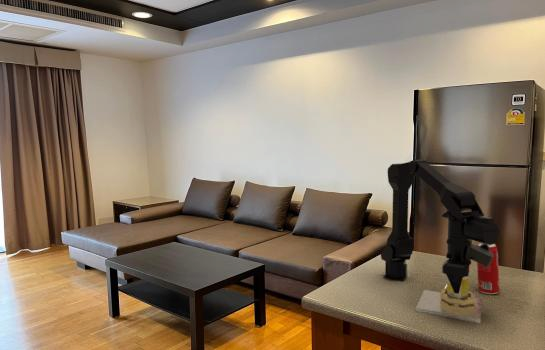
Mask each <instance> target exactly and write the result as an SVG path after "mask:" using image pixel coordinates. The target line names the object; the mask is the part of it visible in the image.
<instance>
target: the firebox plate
mask: <svg viewBox="0 0 545 350" xmlns="http://www.w3.org/2000/svg"><path fill="white" fill-rule="evenodd" d="M482 309H483V299H482V298H476V294H475V293H474V292H472V291H470V290H468V298H466V299H458V298H452V297H450V296H448V295H447V288H446V289H444V288H442V289H441V291H435V290H434V291H433V290H429V289H428V290H427V289H424V290H423V292H422V294H421V296H420V298H419V300H418V302H417V305H416V306H415V311H416V312H420V313H425V314H430V315H436V316H440V317H446V318H450V319H456V320H461V321H466V322H470V323H478V324H481V322H482V311H483V310H482Z"/></svg>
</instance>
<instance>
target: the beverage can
mask: <svg viewBox="0 0 545 350" xmlns="http://www.w3.org/2000/svg"><path fill="white" fill-rule="evenodd" d="M481 244H483V243H481V242H479V243H477V245H478V246H480V245H481ZM487 245H488V244H487ZM489 251H492V253H493V254H494V257H493V259H492V261H491V263H490V265H489V267H486V266H483V264H481V263H478V262H476V264H477V265H476V266H477V283H478V285H477V287H478V290H479V292H480V293H482V294H484V295H485V294H486V295H497V294H499V292H500V275H499V270H500V269H499V253H498V252H499V250H498V247H497V244H496V243H494V244H492V245H489Z"/></svg>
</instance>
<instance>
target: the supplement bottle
mask: <svg viewBox="0 0 545 350" xmlns="http://www.w3.org/2000/svg"><path fill="white" fill-rule="evenodd" d="M446 277H447V276H446ZM446 285H447V295H448V296H450V297H452V298H458V299H466V298H468V291H469V275H468V276H467V277H463V278H462V282H461V286H460V291H459V294H457V293H454V291H453V289H452V286H451V284H450V282H449V280H448V277H447V278H446Z"/></svg>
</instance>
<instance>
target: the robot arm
mask: <svg viewBox="0 0 545 350" xmlns="http://www.w3.org/2000/svg"><path fill="white" fill-rule="evenodd" d="M415 177H418V178H419V179H420V180H421V181H422V182H424V184H426V185H427V186H428V187H430V188H431V189H432V190H433V191H434V192H435V193H436V194H437V195H438V197H439V201H440V203H441V204H442V205H443V207H444V208H445V210H446V211H444V212H443V213H442V215H441V217H443V218H445V219H447V239H446V244H447V246H446V247H447V249H446V250H447V252H446V255H445V257H446V259H447V260H445V261H443V264H442V270H441V271H442V274H444V275H445V276H446V277H448V280H449V282H450V284H451V286H452V289H453V291H454V293H457V294H459V291H460V286H461V282H462V278H463V277H467V276H468V277H469V275H470V266H471V264H472V261H474V262H476V263H477V262H478V263H481V264H483V266H486V267H489V265H490V263H491V261H492V259H493V257H494V254H493V253H492V251H489V245H492V244H496V242H497V241H498V240H499V237H500V234H501V233H500V232H501V231H500V230H499V226H498V225H497V224H496V222H495V219H494V218H493V217H491V216H489V217H485V214H484V213H483V209H482V207H480V205H479V203H478V201H477V200H476V195H475V193H473V192H472V191H471V190H469V189H468V188H465V187H464V186H462V185H461V186H460V185H458V184H454V183H453V182H451V181H450V180H449V179H447V178H446V177H445V176H444V175H442V174H441V172H439V171H438V170H436V169H435V168H434V167H433V166H431V165H430V164H429V162H428V161H427V160H425V159H413V160H410V161H407V162H402V163H401V162H400V163H392V164H390V166H388V168H387V181H388V184H389V186H390V187H391V189H392V214H391V215H392V217H391V218H392V220H391V221H392V223H391V224H392V225H391V227H392V228H391V232H390V234H389V235H388V237H387V239H386V246H385V248H384V249H383V250H382V251H381V252H380V258H381V259H380V260H382V261H384V262H385V264H384V265H385V269H384V270H385V274H384V276H383V278H384V279H389V280H394V281H400V282H404V281H405V279H406V278H407V276H408V264H407V261H410V260H411V256H412V255H413V252H414V250H415V247H414V243H415V239H414V238H413V237H411V236H410V234H409V232H408V227H409V190H410V189H411V187H412V185H413V183H414V182H415V181H414V180H415ZM473 241H475V242H477V243H478V242H479V243H483V244H481V245H480V246H478V244H476V245H475V244H473ZM487 244H488V245H487ZM471 260H472V261H471Z"/></svg>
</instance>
